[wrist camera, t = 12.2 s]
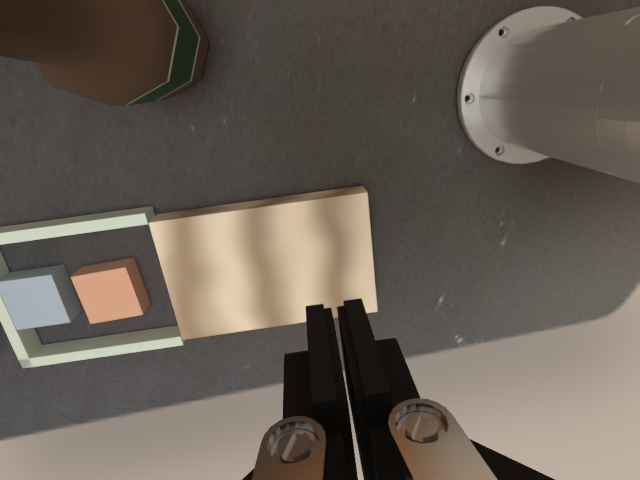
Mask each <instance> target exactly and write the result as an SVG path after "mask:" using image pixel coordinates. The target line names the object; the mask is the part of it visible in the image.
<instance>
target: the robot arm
mask: <svg viewBox="0 0 640 480" xmlns="http://www.w3.org/2000/svg"><path fill="white" fill-rule="evenodd" d="M499 30H501V35H500V36H499ZM466 95H467V96H468V100H467V101H465V96H466ZM457 109H458V116H459V120H460V122H461V125H462V128H463V130H464V132H465V134H466V135H467V137H468V139H469V140H470V141H471V142H472V144H473V145H474V146H475V147H476V148H477V149H478V150H480V151H481V152H483V153H484V154H486V155H487V156H489V157H491V158H494V159H496V160H499V161H503V162H506V163H511V164H527V163H534V162H538V161H541V160H544V159H547V158H549V157H552V158H556V159H559V160H562V161H566V162H569V163H572V164H576V165H579V166H582V167H586V168H589V169H592V170H596V171H599V172H603V173H606V174H609V175H613V176H616V177H619V178H623V179H626V180H630V181H633V182H637V183H640V7H636V8H631V9H626V10H621V11H616V12H611V13H606V14H602V15H597V16H592V17H587V18H582V17H581V16H580V15H578V14H576V13H574V12H572V11H570V10H568V9H565V8H560V7H555V6H537V7H533V8H528V9H525V10H521V11H519V12H516V13H513V14H511V15H509V16H507V17H505V18H504V19H502V20H500V21H498V22H497V23H496V24H495V25H493V26H492V27H491V28H490V29H489V30H487V31H486V32H485V33H484V34H483V36H482V37H481V38H480V39H479V40H478V41H477V43H476V44H475V45H474V47H473V48H472V50H471V52H470V53H469V55H468V57H467V58H466V61H465V63H464V66H463V68H462V71H461V73H460V78H459V83H458V87H457ZM496 148H498V149H497V151H496V152H495V149H496ZM343 304H344V306H338V307H337V312H338V319H339V327H340V335H341V343H342V351H343V359H344V367H345V374H346V382H347V387H348V394H349V400H350V405H351V411H352V416H353V422H354V427H355V433H356V438H357V443H358V449H359V454H360V460H361V465H362V471H363V476H364V480H554V479H552V478H550V477H548V476H546V475H544V474H542V473H539V472H538V471H536V470H533V469H531V468H529V467H527V466H525V465H523V464H521V463H519V462H517V461H514V460H512V459H510V458H508V457H506V456H504V455H502V454H500V453H498V452H495V451H493V450H491V449H489V448H487V447H485V446H483V445H480V444H479V443H477V442H475V441H472V440H470V439H469V438H468V437H467V435H466V434H465V432H464V431H463V429H462V428H461V427H460V425H459V424H458V422H457V421H456V419H455V418H454V417H453V415H452V414H451V413H450V412H449V411H448V410H447V409H446V408H445V407H444V406H442V405H441V404H439V403H437V402H435V401H431V400H428V399H420V396H419V394H418V391H417V389H416V386H415V384H414V382H413V379H412V376H411V375H410V371H409V369H408V366H407V364H406V362H405V359H404V357H403V354H402V352H401V349H400V347H399V344H398V342H397V340H396V338H391V339H384V340H377V341H375V339H374V335H373V332H372V329H371V326H370V323H369V320H368V317H367V314H366V311H365V307H364V304H363V301H362V299H361V298H359V299H352V300H345V301H343ZM306 322H307V337H308V351H301V352H294V353H287V354H285V356H284V392H283V394H284V395H283V420H280V421H278V422H277V423H276V424H274V425H273V426H271V427H270V428H269V430H268V431H267V432H266V433H265V435H264V437H263V440H262V442H261V445H260V449H259V453H258V457H257V461H256V464H255V468H254V469H253V470H252V471H251V472H250V473H249V474H248V475H247V476H246V477H245V478H243V480H358V478H357V470H356V462H355V454H354V447H353V439H352V432H351V423H350V415H349V408H348V401H347V394H346V388H345V382H344V377H343V371H342V365H341V360H340V354H339V348H338V343H337V337H336V331H335V326H334V320H333V314H332V309H331V308H324V304H317V305H310V306H306Z"/></svg>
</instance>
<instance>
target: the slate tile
mask: <svg viewBox="0 0 640 480" xmlns="http://www.w3.org/2000/svg"><path fill="white" fill-rule="evenodd" d="M0 295H1V297H2V299H3V301H4V303H5V306H6V308H7V310H8V312H9V314H10V316H11V319H12V321H13V323H14V325H15V327H16V329H17V330H21V329H28V328H35V327H42V326H49V325H56V324H63V323H70V322H71V321H72V320H73V319H74V318H75V317H76V316H77V315H78V313H79V312H80V311H81V308H80V305H79V303H78V300H77V297H76V295H75V292H74V290H73V287H72V285H71V282H70V279H69V277H68V274H67V272H66V269H65V266H64V264H63V265H56V266H49V267H42V268H35V269H28V270H21V271H13V272H10V273H8V274H7V275H5V276H4V277H2V278H1V279H0Z"/></svg>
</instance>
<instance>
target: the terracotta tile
mask: <svg viewBox="0 0 640 480" xmlns="http://www.w3.org/2000/svg"><path fill="white" fill-rule="evenodd" d="M71 279H72V282H73V284H74V286H75V289H76V291H77V293H78V296H79V298H80V300H81V303H82V305H83V307H84V309H85V312H86V314H87V316H88V319H89V321H90V323H91V324H93V323H99V322H104V321H110V320H116V319H121V318H127V317H133V316H138V315H143V314H144V313H145V311H146V309H147V308H148V306H149V304H150V300H149V298H148V295H147V292H146V289H145V286H144V284H143V281H142V278H141V275H140V272H139V270H138V267H137V264H136V261H135V258H134V257H133V258H127V259H122V260H116V261H110V262H105V263H99V264H93V265H88V266H82V267H81V268H80V269H79V270H78V271H77V272H75V273H74V274H73V275H72V276H71Z"/></svg>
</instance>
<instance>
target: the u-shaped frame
mask: <svg viewBox="0 0 640 480" xmlns="http://www.w3.org/2000/svg"><path fill="white" fill-rule="evenodd" d="M154 217H155V213H154V209H153V206H149V207H141V208H134V209H127V210H120V211H112V212H105V213H98V214H91V215H84V216H76V217H69V218H62V219H55V220H47V221H40V222H33V223H26V224H18V225H11V226H4V227H0V245H2V244H9V243H16V242H23V241H30V240H38V239H45V238H52V237H59V236H66V235H74V234H81V233H88V232H95V231H102V230H109V229H117V228H124V227H131V226H138V225H145V224H149V222H150V221H151V220H152V219H153V218H154ZM8 273H10V272H9V269H8V267H7V265H6V263H5V260H4V258H3V256H2V253H1V251H0V279H1V278H2V277H4V276H5V275H7V274H8ZM0 322H1V324H2V326H3V328H4V330H5V332H6V334H7V336H8V338H9V341H10V343H11V345H12V347H13V349H14V351H15V353H16V355H17V358H18V360H19V362H20V364H21V366H22V368H29V367H36V366H43V365H50V364H57V363H64V362H70V361H77V360H84V359H91V358H98V357H105V356H112V355H119V354H126V353H133V352H139V351H146V350H153V349H160V348H167V347H174V346H181V345H183V344H184V342H185V340H182V336H181V333H180V329H179V326H178V325H176V326H169V327H163V328H156V329H149V330H142V331H135V332H128V333H121V334H114V335H107V336H100V337H93V338H86V339H79V340H72V341H65V342H58V343H51V344H44V345H42V344H41V342H40V340H39V338H38V335H37V333H36V331H35V328H28V329H21V330H17V329H16V327H15V325H14V323H13V321H12V319H11V316H10V314H9V312H8V310H7V308H6V306H5V303H4V301H3V299H2V297H1V295H0Z"/></svg>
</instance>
